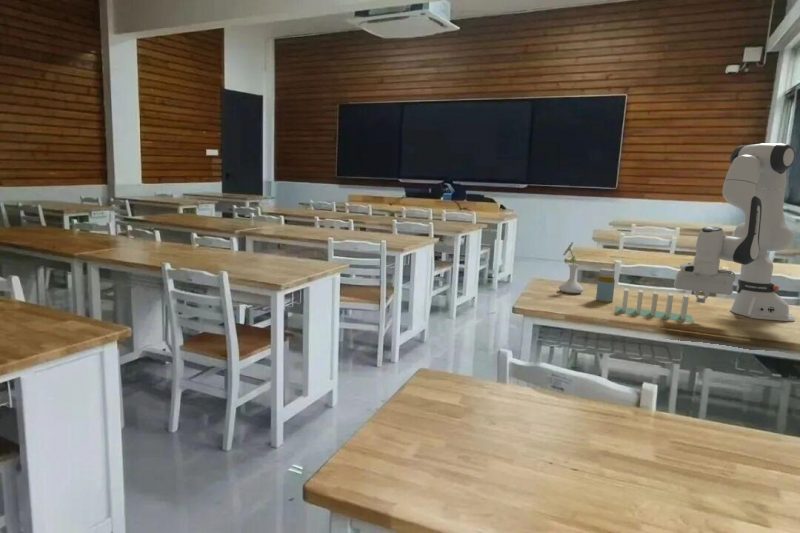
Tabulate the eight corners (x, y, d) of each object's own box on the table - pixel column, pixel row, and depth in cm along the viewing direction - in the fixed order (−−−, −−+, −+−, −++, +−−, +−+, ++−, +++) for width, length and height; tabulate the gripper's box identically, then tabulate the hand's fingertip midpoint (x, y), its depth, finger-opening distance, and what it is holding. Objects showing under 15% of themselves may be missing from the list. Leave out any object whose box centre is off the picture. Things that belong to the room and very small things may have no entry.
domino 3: (669, 314, 217) (672, 293, 216) (670, 317, 213) (673, 295, 211) (665, 314, 218) (668, 292, 216) (666, 317, 213) (668, 295, 212)
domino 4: (684, 316, 215) (687, 295, 213) (685, 319, 211) (688, 297, 209) (680, 316, 216) (683, 294, 214) (681, 318, 211) (684, 297, 210)
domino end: (626, 309, 224) (628, 288, 222) (626, 312, 219) (628, 290, 217) (622, 308, 224) (624, 288, 223) (621, 311, 220) (624, 290, 218)
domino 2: (651, 315, 215) (653, 293, 214) (650, 312, 220) (653, 291, 218) (655, 315, 215) (658, 294, 213) (654, 312, 219) (657, 291, 218)
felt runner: (691, 316, 217) (691, 315, 217) (694, 324, 206) (694, 322, 206) (615, 307, 229) (615, 306, 228) (614, 313, 218) (614, 312, 218)
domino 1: (640, 311, 221) (642, 290, 220) (640, 313, 217) (643, 292, 215) (636, 310, 222) (638, 289, 220) (636, 313, 218) (638, 292, 216)
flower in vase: (565, 288, 263) (569, 238, 259) (587, 292, 256) (592, 241, 251) (552, 292, 254) (557, 240, 250) (574, 296, 246) (579, 243, 242)
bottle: (592, 300, 239) (595, 268, 237) (604, 299, 242) (607, 267, 240) (603, 304, 233) (607, 271, 231) (615, 303, 236) (619, 270, 233)
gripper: (734, 270, 206) (729, 304, 208) (676, 264, 214) (671, 297, 216) (737, 272, 200) (732, 308, 203) (677, 266, 208) (672, 300, 211)
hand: (700, 302), depth 210 cm, fingers closed
